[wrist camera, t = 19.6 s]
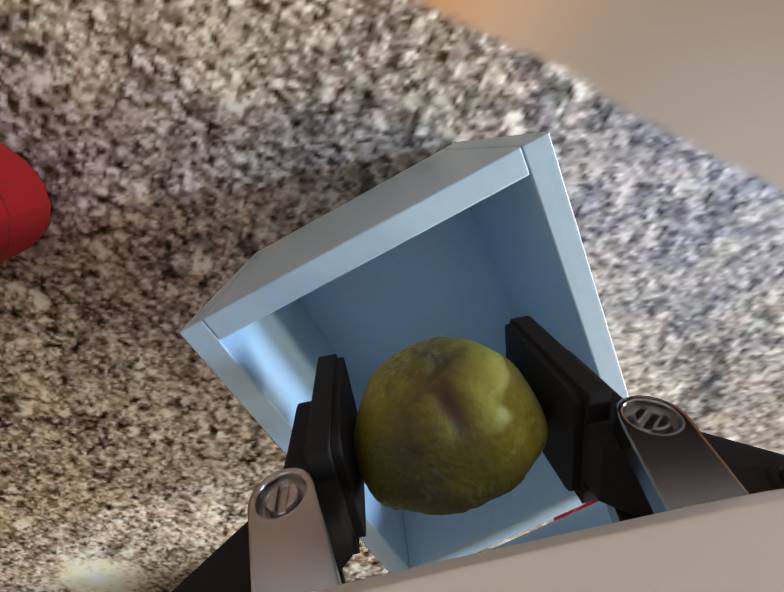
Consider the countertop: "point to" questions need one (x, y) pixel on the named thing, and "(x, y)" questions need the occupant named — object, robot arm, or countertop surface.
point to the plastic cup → (20, 205)
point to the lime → (446, 427)
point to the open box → (416, 311)
